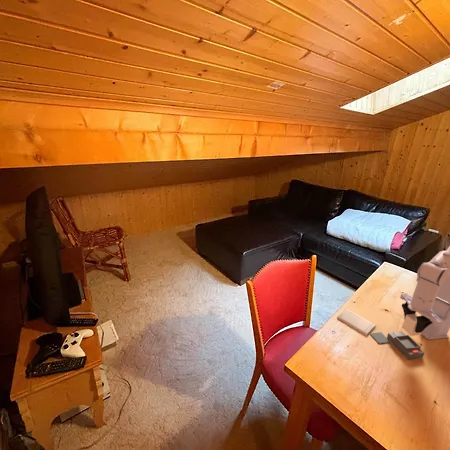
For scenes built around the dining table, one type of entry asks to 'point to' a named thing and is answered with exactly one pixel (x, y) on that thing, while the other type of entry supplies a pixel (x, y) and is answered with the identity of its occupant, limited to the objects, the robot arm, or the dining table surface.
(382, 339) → the coaster
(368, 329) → the hard drive
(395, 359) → the dining table surface
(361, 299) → the dining table surface
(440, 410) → the dining table surface
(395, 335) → the gray recessed box
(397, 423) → the dining table surface
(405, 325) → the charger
